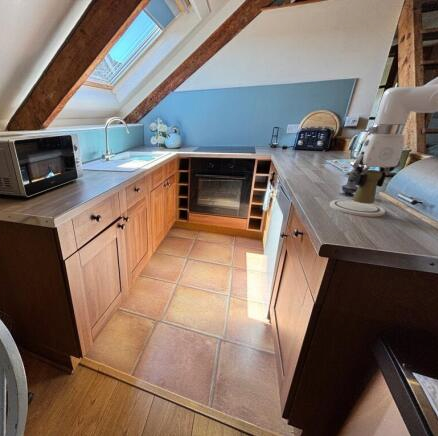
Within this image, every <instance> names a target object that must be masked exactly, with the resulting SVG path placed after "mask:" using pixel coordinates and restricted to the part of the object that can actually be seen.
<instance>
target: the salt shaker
mask: <svg viewBox="0 0 438 436" xmlns="http://www.w3.org/2000/svg"><path fill="white" fill-rule="evenodd" d="M357 175H358V173H356V170H355V169H354V168H353V169H351V170H350V172H349V176H348V177H347V182H346V184H344V185H341V190H342V192H340V195H341V196H343V197H349V198H353V196H354V194H355V192H356V191H357V189H358V187H359V186H357V185H355V181H356V178H357Z"/></svg>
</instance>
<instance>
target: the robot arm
mask: <svg viewBox="0 0 438 436" xmlns="http://www.w3.org/2000/svg"><path fill="white" fill-rule="evenodd" d="M411 112H413V113H416V114H430V113H431V114H433V113H438V76H436V77H435V78H433V79H432V80H430V81H429V82H427V83H426V84H424V85H421V86H420V85H419V86H410V85H409V86H408V85H407V86H395V87H394V86H393V87H390V88H387V89H386V90H384V92H383V94H382V96H381V100H380V103H379V105H378V108H377V112H376V115H375V118H374V122H373V124H372V126H369V127H368V132H370V134H367V136H366V138H365V139H364V142H363V144H362V146H361V148H360V151H359V153H358V155H357V157H356V158H355V159H354V160H352V162H351V163H350V166H351V167H352V168H353V170H354V169H355V170H356V173H358V175H357V178H356V181H355V185H356V186H357V187H359V186H363V185H364V183H365V180H366V177H367V175H365V174H366V172H367V171H368V170H370V168H378V171H380V172H381V173H382V177H381V178H380V180H378V182H377V187H379V188H381V187H383V185H384V182H385V180H386V177H387V176H389V175H390V174H391V172H392V171H394V170H395V169H397V168H398V167H400V166H401V165H402V163H401V161H400V159H401V156H402V153H403V149H404V144H405V135H403V134H404V133H403V132H404V130H405V127H406V125H407V122H408V120H409V117H410V114H411Z"/></svg>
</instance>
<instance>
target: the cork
mask: <svg viewBox="0 0 438 436" xmlns="http://www.w3.org/2000/svg"><path fill="white" fill-rule="evenodd" d="M365 175H367V177H366V180H365V183H364V185H363V186H357V187H358V189H357V191H356V192H355V193H353V194H354V196H353V197H351V198H352V199H351V200H353V201H355V202H359V203H366V204H374V203H375V198H376V193H377V188H378V186H377V182H378V180H380V178H381V177H382V173H381V172H380V171H379V170H375V169H368V171H367V172H366V174H365Z"/></svg>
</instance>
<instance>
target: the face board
mask: <svg viewBox="0 0 438 436" xmlns="http://www.w3.org/2000/svg"><path fill="white" fill-rule="evenodd" d="M329 207H330V208H332V209H333V210H335V211H338V212H341V213H345V214H348V215H353V216H360V217H369V218H370V217H371V218H374V217H375V218H376V217H382V216H384V215H385V214H386V210H385V209H384V207H381V206H379V205H376V204H374V203H372V204H366V203H359V202H355V201H353V200H352V199H333V200H331V201H330V202H329Z"/></svg>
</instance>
